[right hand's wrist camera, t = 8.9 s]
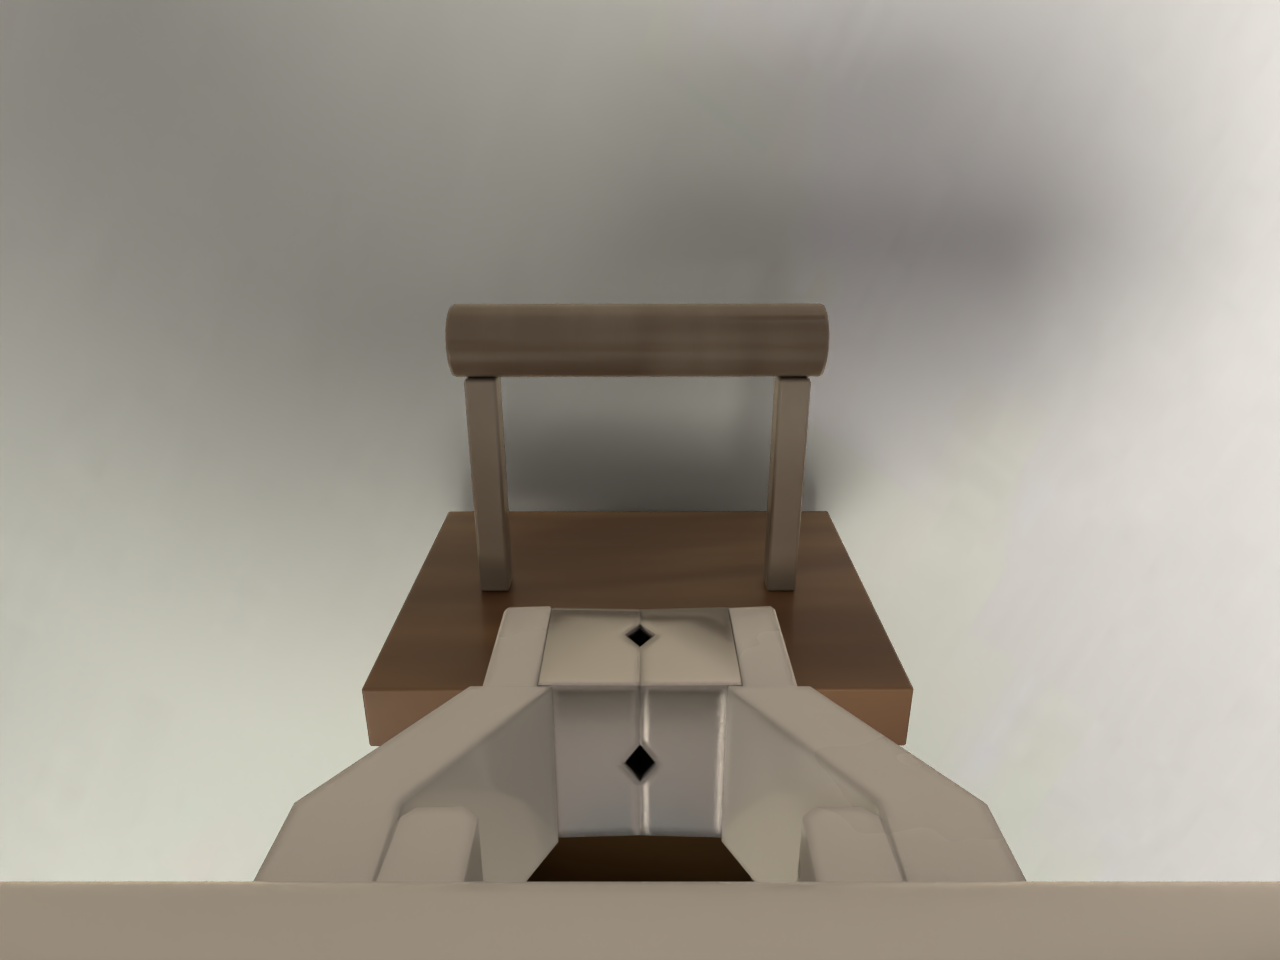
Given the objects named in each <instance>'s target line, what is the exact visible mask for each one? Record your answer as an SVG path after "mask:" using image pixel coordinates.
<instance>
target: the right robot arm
mask: <svg viewBox="0 0 1280 960" xmlns="http://www.w3.org/2000/svg"><path fill="white" fill-rule="evenodd" d="M629 835H648V836H685V837H722V842H723V843H724V845H725V846H726V847H727V848H728V850H729V851H730V852H731V853H732V855H733V856H734V857H735V858H736V859H737V861H738V862H739V863H740V864H741V866H742V867H743V868H744V869H745V871H746V872H747V873H748V874H749V875H750V877H751V878H752V879H753V880H754V882H526V881H527V880H528V879H529V877H530V876H531V875H532V874H533V873H534V871H535V870H536V869H537V868H538V866H539V865H540V864H541V863H542V861H543V860H544V859H545V858H546V857H547V855H548V854H549V853H550V852H551V850H552V849H553V848H554V847H555V846H556V844H557V843H558V837H594V836H629ZM0 960H1280V882H1027V881H1026V879H1025V877H1024V875H1023V874H1022V872H1021V870H1020V868H1019V866H1018V864H1017V862H1016V860H1015V858H1014V856H1013V854H1012V852H1011V850H1010V848H1009V846H1008V845H1007V843H1006V841H1005V839H1004V837H1003V835H1002V833H1001V831H1000V829H999V827H998V825H997V823H996V821H995V819H994V817H993V815H992V814H991V812H990V810H989V808H988V806H987V804H985V803H984V802H982V801H981V800H979V799H978V798H977V797H975V796H974V795H972V794H971V793H969V792H968V791H966V790H965V789H963V788H962V787H960V786H959V785H957V784H956V783H954V782H953V781H951V780H950V779H948V778H947V777H945V776H944V775H942V774H941V773H939V772H938V771H936V770H935V769H933V768H932V767H930V766H929V765H927V764H926V763H924V762H923V761H921V760H920V759H918V758H917V757H915V756H914V755H912V754H911V753H909V752H908V751H906V750H905V749H903V748H902V747H900V746H899V745H897V744H896V743H894V742H893V741H891V740H890V739H888V738H887V737H885V736H884V735H882V734H881V733H879V732H878V731H876V730H875V729H873V728H872V727H870V726H869V725H867V724H866V723H864V722H863V721H861V720H860V719H858V718H857V717H855V716H854V715H852V714H851V713H849V712H848V711H846V710H845V709H843V708H842V707H840V706H839V705H837V704H836V703H834V702H833V701H831V700H830V699H828V698H827V697H825V696H824V695H822V694H821V693H819V692H818V691H816V690H815V689H813V688H812V687H810V686H797V683H796V680H795V676H794V673H793V670H792V666H791V663H790V659H789V656H788V652H787V649H786V646H785V642H784V639H783V635H782V632H781V628H780V625H779V622H778V618H777V615H776V611H775V609H774V608H772V607H771V606H760V607H738V608H728V607H715V608H673V609H623V608H569V607H554V608H553V609H552V608H551V607H550V606H540V607H509V608H507V609H506V610H505V611H504V614H503V617H502V621H501V624H500V628H499V631H498V635H497V638H496V641H495V645H494V648H493V652H492V655H491V659H490V662H489V666H488V669H487V673H486V676H485V680H484V683H483V686H470V687H468V688H467V689H465V690H464V691H462V692H461V693H459V694H458V695H456V696H455V697H453V698H452V699H450V700H449V701H447V702H446V703H444V704H443V705H441V706H440V707H438V708H437V709H435V710H434V711H432V712H431V713H429V714H428V715H426V716H425V717H423V718H422V719H420V720H419V721H417V722H416V723H414V724H413V725H411V726H410V727H408V728H407V729H405V730H404V731H402V732H401V733H399V734H398V735H396V736H394V737H393V738H391V739H390V740H388V741H387V742H385V743H384V744H382V745H381V746H379V747H378V748H376V749H375V750H373V751H372V752H370V753H369V754H367V755H366V756H364V757H363V758H361V759H360V760H358V761H357V762H355V763H354V764H352V765H351V766H349V767H348V768H346V769H345V770H343V771H342V772H340V773H339V774H337V775H336V776H334V777H333V778H331V779H330V780H328V781H327V782H325V783H324V784H322V785H321V786H319V787H318V788H316V789H315V790H313V791H312V792H310V793H309V794H307V795H306V796H304V797H303V798H301V799H300V800H298V801H297V802H295V803H294V805H293V807H292V809H291V811H290V812H289V814H288V816H287V818H286V820H285V822H284V824H283V826H282V828H281V830H280V832H279V833H278V835H277V837H276V839H275V841H274V843H273V845H272V847H271V849H270V851H269V853H268V855H267V856H266V858H265V860H264V862H263V864H262V866H261V868H260V870H259V872H258V874H257V876H256V877H255V879H254V881H253V882H0Z"/></svg>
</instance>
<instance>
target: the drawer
mask: <svg viewBox="0 0 1280 960" xmlns="http://www.w3.org/2000/svg"><path fill="white" fill-rule="evenodd" d="M828 349H829V322H828V316H827V312H826V309H825V307H824V305H822V304H454V305H452V306H451V307H450V308H449V311H448V314H447V320H446V353H447V359H448V364H449V367H450V370H451V372H452V374H453V375H454V376H456V377H467V378H466V380H465V382H464V386H465V399H466V412H467V425H468V438H469V450H470V463H471V476H472V489H473V502H474V512H449V513H448V515H447V517H446V519H445V521H444V523H443V525H442V527H441V529H440V531H439V533H438V535H437V537H436V539H435V541H434V543H433V546H432V548H431V550H430V552H429V554H428V556H427V558H426V560H425V562H424V564H423V566H422V568H421V570H420V572H419V574H418V576H417V578H416V580H415V582H414V584H413V586H412V588H411V590H410V592H409V594H408V596H407V599H406V601H405V603H404V605H403V607H402V609H401V611H400V613H399V615H398V617H397V619H396V621H395V623H394V625H393V627H392V629H391V631H390V633H389V635H388V637H387V639H386V641H385V643H384V645H383V647H382V650H381V652H380V654H379V656H378V658H377V660H376V662H375V664H374V666H373V668H372V670H371V672H370V674H369V676H368V678H367V680H366V682H365V684H364V686H363V688H362V693H363V700H364V707H365V715H366V722H367V729H368V736H369V743H370V745H371V746H381V745H382V744H384V743H385V742H387V741H388V740H390V739H391V738H393V737H394V736H396V735H398V734H399V733H401V732H402V731H404V730H405V729H407V728H408V727H410V726H411V725H413V724H414V723H416V722H417V721H419V720H420V719H422V718H423V717H425V716H426V715H428V714H429V713H431V712H432V711H434V710H435V709H437V708H438V707H440V706H441V705H443V704H444V703H446V702H447V701H449V700H450V699H452V698H453V697H455V696H456V695H458V694H459V693H461V692H462V691H464V690H465V689H467V688H468V687H470V686H483V683H484V680H485V676H486V673H487V669H488V666H489V662H490V659H491V655H492V652H493V648H494V645H495V641H496V638H497V635H498V631H499V628H500V624H501V621H502V617H503V614H504V611H505V610H506V609H507V608H509V607H540V606H550V607H551V608H552V609H553V608H554V607H569V608H623V609H673V608H715V607H728V608H738V607H760V606H771V607H772V608H774V609H775V611H776V615H777V618H778V622H779V625H780V628H781V632H782V635H783V639H784V642H785V646H786V649H787V652H788V656H789V659H790V663H791V666H792V670H793V673H794V676H795V680H796V683H797V686H810V687H812V688H813V689H815V690H816V691H818V692H819V693H821V694H822V695H824V696H825V697H827V698H828V699H830V700H831V701H833V702H834V703H836V704H837V705H839V706H840V707H842V708H843V709H845V710H846V711H848V712H849V713H851V714H852V715H854V716H855V717H857V718H858V719H860V720H861V721H863V722H864V723H866V724H867V725H869V726H870V727H872V728H873V729H875V730H876V731H878V732H879V733H881V734H882V735H884V736H885V737H887V738H888V739H890V740H891V741H893V742H894V743H896V744H897V745H905V744H906V738H907V731H908V724H909V717H910V709H911V702H912V695H913V687H912V685H911V683H910V681H909V679H908V677H907V675H906V673H905V671H904V669H903V666H902V664H901V662H900V660H899V658H898V656H897V654H896V652H895V650H894V648H893V646H892V644H891V642H890V640H889V638H888V636H887V633H886V631H885V629H884V627H883V625H882V623H881V621H880V619H879V617H878V615H877V613H876V611H875V609H874V607H873V605H872V603H871V600H870V598H869V596H868V594H867V592H866V590H865V588H864V586H863V584H862V582H861V580H860V578H859V576H858V574H857V572H856V570H855V567H854V565H853V563H852V561H851V559H850V557H849V555H848V553H847V551H846V549H845V547H844V545H843V543H842V541H841V539H840V537H839V534H838V532H837V530H836V528H835V526H834V524H833V522H832V520H831V518H830V516H829V514H828V512H827V511H801V508H802V494H803V481H804V467H805V453H806V440H807V426H808V413H809V399H810V386H811V382H810V379H809V378H808V376H820V375H822V374H823V372H824V369H825V366H826V363H827V357H828ZM771 376H775V380H774V397H773V415H772V432H771V449H770V467H769V484H768V501H767V511H652V512H509V509H508V493H507V477H506V461H505V444H504V428H503V412H502V396H501V380H500V377H771ZM526 882H754V880H753V879H752V878H751V877H750V875H749V874H748V873H747V872H746V871H745V869H744V868H743V867H742V866H741V864H740V863H739V862H738V861H737V859H736V858H735V857H734V856H733V855H732V853H731V852H730V851H729V850H728V848H727V847H726V846H725V845H724V843H723V842H722V837H685V836H648V835H629V836H594V837H558V843H557V844H556V846H555V847H554V848H553V849H552V850H551V852H550V853H549V854H548V855H547V857H546V858H545V859H544V860H543V861H542V863H541V864H540V865H539V866H538V868H537V869H536V870H535V871H534V873H533V874H532V875H531V876H530V877H529V879H528V880H527V881H526Z"/></svg>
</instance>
